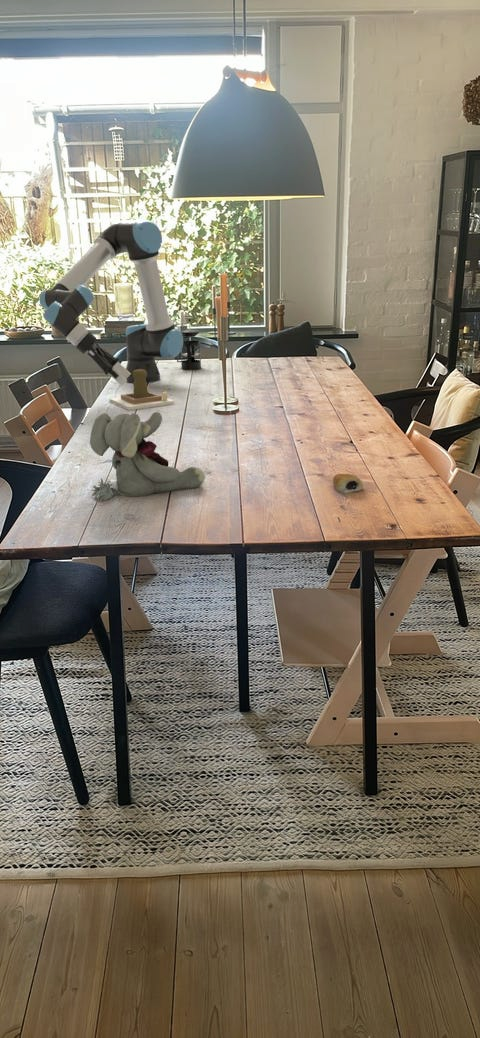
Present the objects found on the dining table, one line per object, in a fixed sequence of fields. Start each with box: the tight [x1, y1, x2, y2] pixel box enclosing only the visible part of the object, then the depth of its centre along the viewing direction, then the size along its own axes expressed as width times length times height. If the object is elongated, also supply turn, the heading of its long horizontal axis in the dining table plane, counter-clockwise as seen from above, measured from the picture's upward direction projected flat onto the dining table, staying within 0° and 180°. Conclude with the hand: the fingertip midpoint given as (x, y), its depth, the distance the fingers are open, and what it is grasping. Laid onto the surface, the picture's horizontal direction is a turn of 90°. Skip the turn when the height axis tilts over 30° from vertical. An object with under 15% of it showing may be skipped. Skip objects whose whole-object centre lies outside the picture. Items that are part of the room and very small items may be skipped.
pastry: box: [332, 473, 364, 494], centre depth 188 cm, size 9×7×4 cm
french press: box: [176, 316, 202, 371], centre depth 350 cm, size 12×9×23 cm
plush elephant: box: [89, 411, 206, 503], centre depth 187 cm, size 27×22×21 cm
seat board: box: [108, 390, 175, 411], centre depth 284 cm, size 18×18×4 cm
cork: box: [133, 369, 149, 399], centre depth 283 cm, size 6×6×11 cm
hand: (126, 379), depth 282 cm, fingers open, 13 cm apart
